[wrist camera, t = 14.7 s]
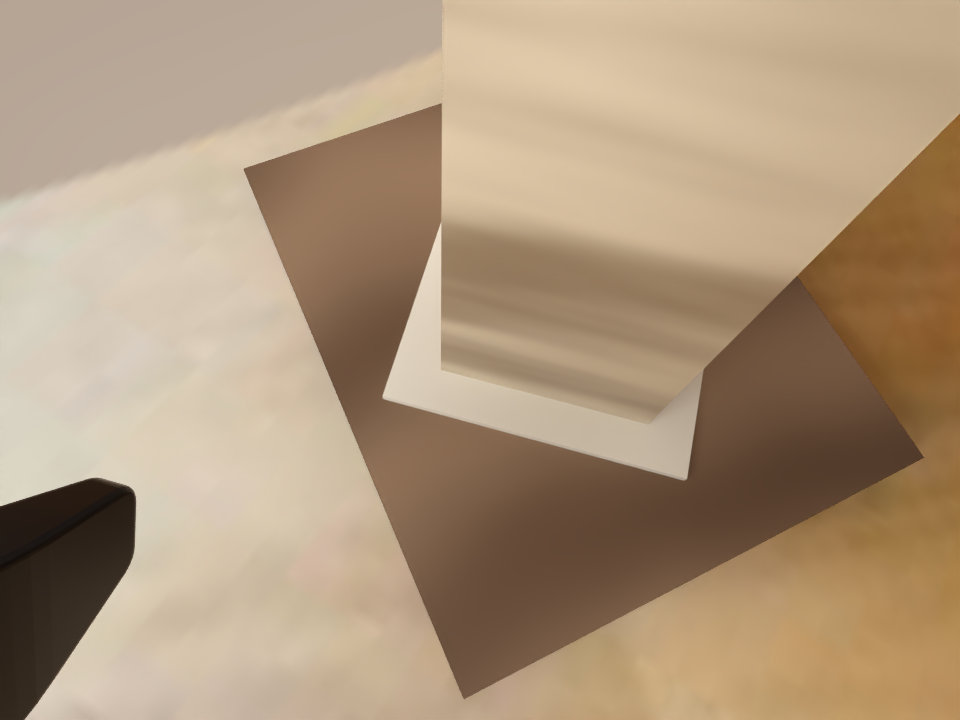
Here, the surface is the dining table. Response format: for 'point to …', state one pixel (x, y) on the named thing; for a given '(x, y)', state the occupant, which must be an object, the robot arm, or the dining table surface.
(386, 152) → the walnut base board
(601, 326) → the birch pillar block
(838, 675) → the dining table surface
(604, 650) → the dining table surface
